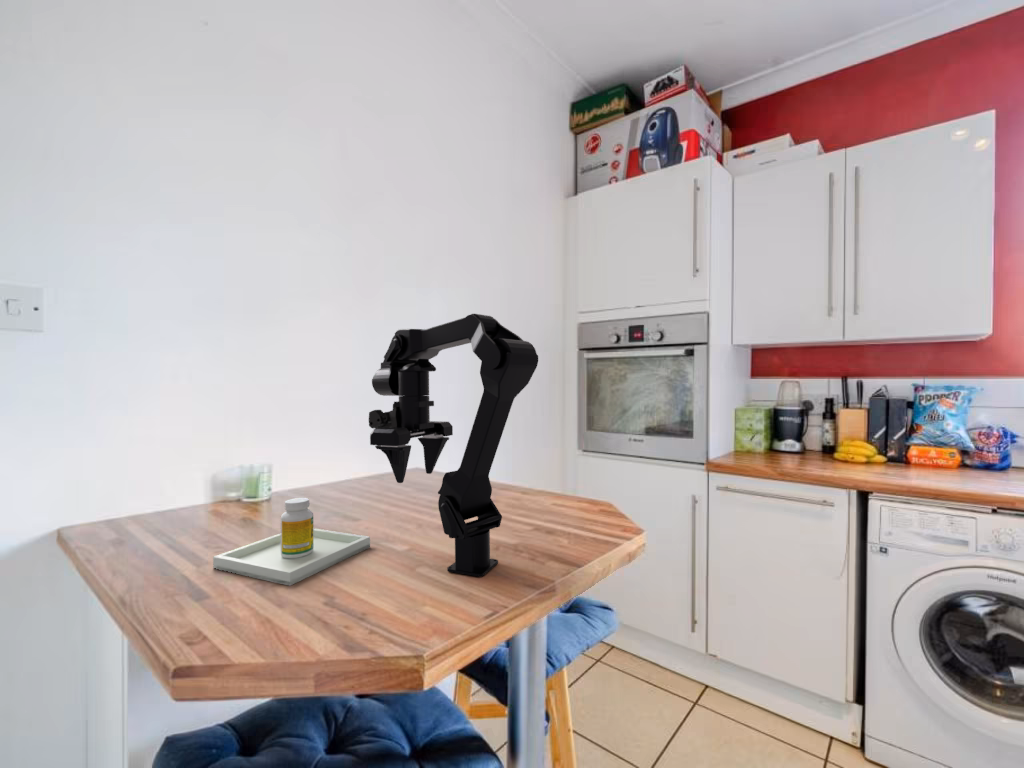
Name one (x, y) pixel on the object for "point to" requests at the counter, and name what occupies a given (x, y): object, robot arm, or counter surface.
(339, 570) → the counter surface
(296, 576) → the tray
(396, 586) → the counter surface
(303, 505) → the supplement bottle
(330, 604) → the counter surface
